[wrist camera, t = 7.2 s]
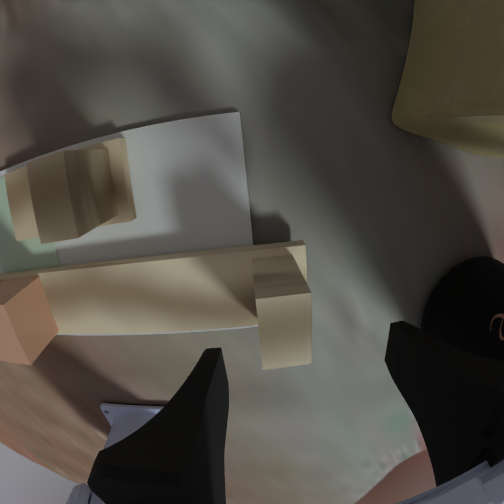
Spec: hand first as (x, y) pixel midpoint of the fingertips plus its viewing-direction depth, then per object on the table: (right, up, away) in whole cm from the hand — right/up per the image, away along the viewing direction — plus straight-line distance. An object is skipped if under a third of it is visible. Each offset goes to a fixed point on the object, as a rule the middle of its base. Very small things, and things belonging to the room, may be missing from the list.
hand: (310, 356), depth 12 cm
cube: (-19, 0, +6) cm, 20 cm away
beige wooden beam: (-11, +2, +8) cm, 14 cm away
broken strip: (-22, +8, +6) cm, 24 cm away
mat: (-18, +4, +7) cm, 20 cm away
